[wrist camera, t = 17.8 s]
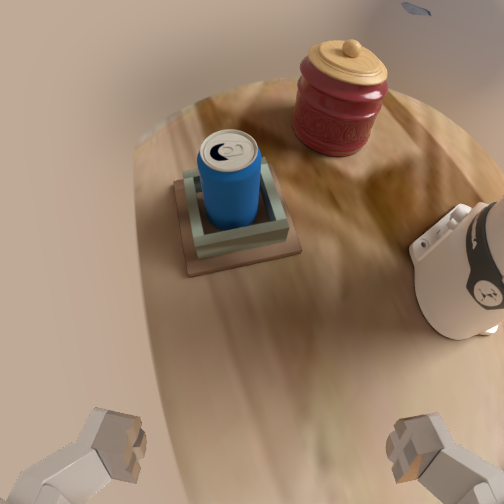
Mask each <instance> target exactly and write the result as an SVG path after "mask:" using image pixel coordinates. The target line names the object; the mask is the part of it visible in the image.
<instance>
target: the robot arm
mask: <svg viewBox="0 0 504 504" xmlns="http://www.w3.org/2000/svg"><path fill="white" fill-rule="evenodd" d="M421 244H422V245H423V246H424V247H422V245H421ZM409 252H410V256H411V259H412V262H413V264H414V268H415V291H416V296H417V300H418V303H419V306H420V308H421V310H422V312H423V314H424V316H425V318H426V319H427V321H428V322H429V323H430V324H431V326H432V327H433V328H434V329H435V330H437V331H438V332H439V333H440V334H442V335H444V336H446V337H448V338H451V339H455V340H463V339H468V338H470V337H472V336H475V335H478V334H481V335H491V334H493V333H495V332H496V330H497V328H498V325H499V324H500V323H502V322H504V196H503V197H502V198H501V199H500V200H499V201H498V202H494V203H492V204H489V205H488V204H485V203H481V202H479V203H477V204H476V205H475V206H474V207H473V208H470V207H468V206H466V205H464V204H458V205H457V206H456V207H455V208H454V209H452V210H451V211H450V212H449V213H448V214H447V215H445V216H444V217H443V218H442V219H441V220H440V221H438V222H437V223H436V224H435V225H434V226H432V227H431V228H430V229H429V230H428V231H426V232H425V233H424V234H423V235H421V236H420V237H419V238H418V239H417V240H415V241H414V242H413V243H412V244H411V245H410V247H409ZM141 425H142V422H141V419H140V417H137V416H133V415H128V414H123V413H118V412H114V411H110V410H105V409H101V408H97V407H95V408H94V409H93V410H92V411H91V413H90V415H89V417H88V419H87V421H86V423H85V425H84V427H83V429H82V431H81V433H80V435H79V437H78V439H77V442H76V443H70V444H69V445H67V446H65V447H63V448H62V449H60V450H58V451H57V452H55V453H53V454H52V455H50V456H48V457H47V458H45V459H43V460H41V461H39V462H38V463H36V464H34V465H32V466H31V467H29V468H27V469H25V470H23V471H22V472H20V474H19V476H18V479H17V480H16V482H15V484H14V486H13V488H12V490H11V492H10V495H9V497H8V499H7V501H5V500H3V499H1V498H0V504H84V503H85V502H86V501H88V500H89V499H90V498H91V497H93V496H94V495H95V494H96V493H97V492H98V491H100V490H101V489H102V488H103V487H104V486H106V485H107V484H108V483H109V482H110V481H111V480H112V479H116V480H120V481H125V482H130V483H135V484H136V483H137V480H138V476H139V473H140V469H141V467H140V465H139V462H138V461H139V460H140V459H142V458H144V455H145V451H146V443H147V442H146V435H145V432H144V431H143V430H142V429H141ZM394 427H395V431H393V432H392V433H391V434H389V437H388V439H387V442H386V453H387V456H388V459H389V460H391V461H392V462H393V463H394V464H393V467H392V472H393V475H394V478H395V481H396V484H397V483H402V482H407V481H412V480H416V479H418V481H419V482H420V483H421V484H422V485H423V486H424V487H426V488H427V489H428V490H429V491H430V492H431V493H432V494H433V495H434V496H436V497H437V498H438V499H439V500H440V501H441V502H442V503H443V504H504V471H502V470H501V469H499V468H497V467H496V466H494V465H492V464H491V463H489V462H487V461H486V460H484V459H483V458H481V457H479V456H478V455H476V454H474V453H473V452H471V451H470V450H468V449H466V448H465V447H463V446H462V445H456V443H455V441H454V439H453V437H452V435H451V433H450V431H449V429H448V428H447V426H446V424H445V422H444V420H443V418H442V416H441V415H440V414H439V413H438V412H436V413H431V414H426V415H419V416H413V417H408V418H402V419H399V420H398V421H396V423H395V425H394Z"/></svg>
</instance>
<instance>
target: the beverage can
mask: <svg viewBox="0 0 504 504" xmlns="http://www.w3.org/2000/svg"><path fill="white" fill-rule="evenodd" d="M197 164H198V170H199V175H200V181H201V187H202V192H203V198H204V204H205V209H206V214H207V218H208V220H209V221H210V223H211V224H212V225H213V226H214V227H216V228H218V229H220V230H222V231H226V230H231V229H236V228H241V227H246V226H250V225H251V224H252V223H253V221H254V220H255V218H256V216H257V211H258V198H259V185H260V172H261V152H260V150H259V148H258V147H257V143H256V141H255V140H254V139H253V138H252V137H251V136H250V135H249V134H247V133H245V132H242V131H239V130H231V129H230V130H221V131H218V132H215V133H213V134H211V135H210V136H208V137H207V138H206V139H205V140H204V141H203V143H202V145H201V148H200V151H199V153H198V157H197Z"/></svg>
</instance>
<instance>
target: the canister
mask: <svg viewBox="0 0 504 504" xmlns="http://www.w3.org/2000/svg"><path fill="white" fill-rule="evenodd" d="M300 70H301V73H302V75H301V76H300V78H299V80H298V84H297V87H298V91H297V97H296V103H295V107H294V109H293V115H292V122H293V129H294V132H295V134H296V135H297V137H298V138H299V139H300V140H301V141H302V142H303V143H304V144H305V145H306V146H308V147H309V148H311V149H313V150H315V151H317V152H319V153H322V154H326V155H330V156H348V155H352V154H355V153H356V152H358V151H359V150H361V149H362V147H363V146H364V145H365V144H366V142H367V141H368V138H369V136H370V132H371V128H372V126H373V123H374V121H375V119H376V116H377V114H378V113H379V111H380V110H381V106H382V102H381V99H383V98H384V97H385V96H386V94H387V92H388V84H387V82H386V78H387V70H386V68H385V66H384V65H383V63H382V62H381V61H380V60H379V59H378V58H377V57H376V56H375V55H374V54H373V53H372V52H371V51H369V50H368V49H366V48H364V47H362V46H361V45H360V43H359V42H357V41H356V40H351V39H350V40H347V41H339V40H333V41H327V42H323V43H319V44H316V45H314V46H313V47H311V48H310V50H309V52H308V56H307V57H305V58H304V59H303V60H302V62H301V64H300Z"/></svg>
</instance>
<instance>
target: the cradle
mask: <svg viewBox="0 0 504 504" xmlns="http://www.w3.org/2000/svg"><path fill="white" fill-rule="evenodd" d="M182 173H183V179H182V180H177V181H174V189H175V196H176V203H177V210H178V217H179V223H180V230H181V236H182V242H183V249H184V255H185V260H186V266H187V272H188V276H189V277H194V276H198V275H203V274H208V273H213V272H217V271H222V270H227V269H231V268H236V267H241V266H245V265H250V264H255V263H259V262H264V261H268V260H273V259H278V258H282V257H287V256H291V255H296V254H300V253H301V251H302V249H301V246H300V243H299V240H298V237H297V234H296V231H295V228H294V225H293V222H292V219H291V216H290V213H289V211H288V208H287V205H286V202H285V199H284V196H283V194H282V191H281V188H280V185H279V182H278V180H277V177H276V174H275V171H274V169H273V166H272V163H268V164H267V161H266V158H265V157H261V172H260V185H259V198H258V211H257V216H256V218H255V220H254V221H253V223H252V224H251V225H250V226H246V227H241V228H236V229H231V230H226V231H222V230H220V229H218V228H216V227H214V226H213V225H212V224H211V223H210V221H209V220H208V218H207V214H206V209H205V204H204V198H203V192H202V187H201V181H200V175H199V170H198V169H194V170H189V171H184V172H182Z"/></svg>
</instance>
